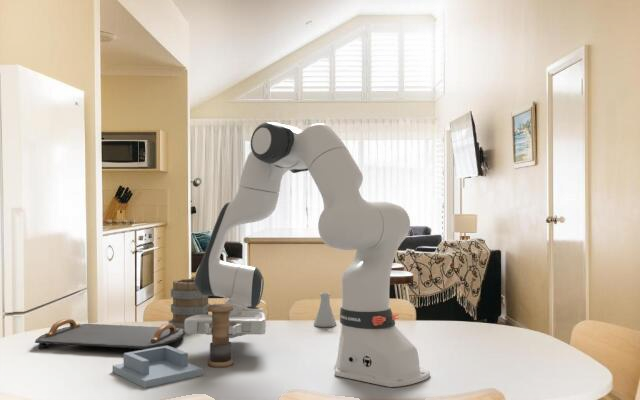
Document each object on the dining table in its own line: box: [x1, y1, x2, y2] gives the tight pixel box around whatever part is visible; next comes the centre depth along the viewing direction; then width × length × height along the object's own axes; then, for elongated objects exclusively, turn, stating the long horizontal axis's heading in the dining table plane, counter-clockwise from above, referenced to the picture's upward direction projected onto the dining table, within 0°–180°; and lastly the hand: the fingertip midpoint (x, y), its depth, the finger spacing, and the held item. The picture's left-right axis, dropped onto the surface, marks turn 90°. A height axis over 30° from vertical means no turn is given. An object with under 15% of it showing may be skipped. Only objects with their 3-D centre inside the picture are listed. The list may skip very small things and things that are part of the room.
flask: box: [313, 292, 338, 328], centre depth 192 cm, size 7×7×10 cm
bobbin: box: [207, 303, 234, 369], centre depth 147 cm, size 6×6×14 cm
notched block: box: [112, 345, 204, 389], centre depth 139 cm, size 16×14×4 cm
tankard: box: [168, 278, 211, 329], centre depth 195 cm, size 20×13×15 cm, turn 162°
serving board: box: [34, 318, 187, 350], centre depth 169 cm, size 39×23×6 cm, turn 78°
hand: (219, 331), depth 146 cm, fingers closed on bobbin, 4 cm apart
